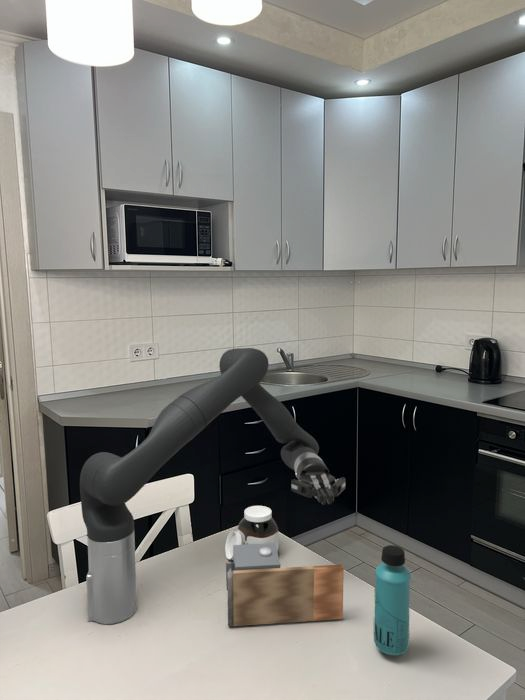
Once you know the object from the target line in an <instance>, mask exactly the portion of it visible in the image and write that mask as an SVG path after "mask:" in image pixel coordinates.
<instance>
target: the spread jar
mask: <svg viewBox="0 0 525 700" xmlns="http://www.w3.org/2000/svg"><path fill="white" fill-rule="evenodd" d="M243 511H244V512H243V513H244V515H243V516H244V517H243V518H242V519H241V520H240V521H239V523H238V527H237V530H230V532H229V533H228V535H227V538H226V540H225V546H224V554H225V557H226V559H227V560H230V561H233V545H245V544H264V543H275V546H276V549H277V552H278V550H279V544H280V543H279V541H280V539H279V538H280V535H279V527H278V525H277V523H276V521H275V520H274V518H273V517H272V515H273V513H272V509H271V508H270V507H267V506H265V505H264V506H263V505H251V506H248V507H247V508H245V509H244V510H243Z"/></svg>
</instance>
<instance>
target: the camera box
mask: <svg viewBox="0 0 525 700" xmlns="http://www.w3.org/2000/svg"><path fill="white" fill-rule="evenodd" d="M232 561H233V562H227V563H226V564H225V574H226V575H225V577H226V583H225V584H227V572H228V571H236V570H254V569H271V568H281V562H280V557H279V554H278V551H277V549H276V546H275V543H264V544H245V545H233V560H232ZM226 591H227V592H228V588H227V587H226Z"/></svg>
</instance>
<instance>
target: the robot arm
mask: <svg viewBox="0 0 525 700" xmlns="http://www.w3.org/2000/svg"><path fill="white" fill-rule="evenodd" d="M219 359H220V360H219V365H218V366H219V372H220V375H218V376H216V377H215V378H213V379H210V380H209V381H205V382H203V383H200V384H199V385H196V386H194V387H192V388H190V389H189V390H186V391H185V392H183V393H182V394H180V395H179V396H177V397H176V398H175V399H174V400H173V401H172V402H169V404H167V406H165V407H164V408H163V409H162V410H161V411H160V412H159V414H158V416H157V417H156V420H155V422H154V423H153V425H152V428H151V430H150V432H149V434H148V435H147V436H146V438H145V439H144V440H143V441H141V443H140V444H139V445H137V446H136V447H135V448H134V449H133V450H131V451H130V452H129V453H127V454H125V455H124V456H122V457H121V456H119V455H116V454H114V453H112V452H111V453H110V452H107V451H106V452H105V451H102V452H96V453H95V454H93V455H91V456H90V457H89V458H88V459H87V460H86V461H85V462H84V464H83V466H82V468H81V472H80V476H79V493H80V505H81V514H82V520H83V523H84V525H85V527H86V528H85V529H86V534H87V555H88V556H87V557H88V572H87V574H86V579H85V580H86V582H85V583H86V599H87V601H86V603H87V621H89V622H91V621H92V622H96V623H97V624H101V625H102V624H103V625H113V624H118V623H120V622H121V623H122V622H124V621H127V619H129V618H131V617H132V616H133V615H134V613H136V611H137V609H138V608H137V607H138V605H137V604H138V603H137V601H138V600H137V598H138V597H137V577H136V576H137V575H136V574H137V573H136V572H137V571H136V546H135V545H136V542H135V518H134V516H133V513H132V512H131V511H130V509H129V508H128V506H127V505H126V503H128V501H130V500H131V499H132V498H134V496H136V495H137V494H138V493H139V492H140V490H141V489H143V488H144V486H145V485H146V484H147V483H148V482H149V481H150V480H151V479H152V478H153V476H154V475H156V473H157V472H158V471H159V470H160V469H161V468H162V467H163V466H164V465H165V464H166V463H167V462H169V460H170V459H171V458H173V456H175V455H176V453H178V452H179V451H180V450H181V449H182V448H183V447H185V446H186V444H187V443H189V442H190V441H192V440H193V439H194V438H195V437H196V436H197V435H198V434H200V433H201V432H202V431H203V430H204V429H205V428H206V427H207V426H208V425H209V424H210V423H211V422H212V421H214V420H215V418H217V417H218V416H219V415H221V414H222V413H223V412H224V411H225V410H226V409H227V408H228V407H229V406H231V405H232V404H233V403H234V402H235V401H236V400H238V399H239V398H240V397H241V398H242V399H244V401H246V403H247V404H248V405H249V406H250V407H251V408H252V409H253V410H254V411H255V413H256V414H257V415H258V417H260V419H261V420H262V421H263V423H264V424H265V426H266V427H267V429H268V430H269V431H270V433H271V435H272V436H273V438H274V439H275V440H276V441H277V442H278V443H281V444H285V445H284V446H282V448H281V450H280V457H281V460H282V461H283V462H284V464H285V465H286V466H287V467H289V469H292V470H293V471H294V472H295V473H294V474H295V477H296V478H297V479H291V492H294V493H296V494H297V495H300V496H304V497H305V498H308V499H310V498H313V497H314V498H315V499H317V502H318V503H321V504H322V505H326V504H327V505H332V504H333V503H334V501H335V497H338V496H339V495H340V494H342V492H344V491H345V490H346V478H345V477H344V476H342V477H340V478H337V479H336V477H335V476H333V475H331V473H330V470H329V468H328V467H327V466H326V464H325V463H324V461H323V459H322V458H321V457H320V456H319V455H318V454H319V450H320V446H319V444H318V442H317V440H316V439H315V438H314V437H313V436H312V435H310V433H308V432H307V431H305V430H304V429H303V428H302V427H301V426H300V425H299V424H298V423H297V422H296V420H295V418H294V417H293V415H292V414H291V413H290V411H289V410H288V409H287V408H286V406H285V405H284V404H283V403H282V402H281V401H280V400H279V399H277V398H276V397H275V396H274V395H272V394H271V393H270V392H269V391H268V390H267V389H265V388H264V386H262V385H261V382H262V381H263V380H264V378H265V377H266V376H267V373H268V371H269V358H268V356H267V355H266V354H265V352H264V351H262V350H260V349H258V348H254V347H242V348H239V347H238V348H232V349H231V348H230V349H228V350H226V351H225V352H224V353H222V355H221V357H220V358H219Z"/></svg>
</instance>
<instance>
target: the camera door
mask: <svg viewBox="0 0 525 700" xmlns="http://www.w3.org/2000/svg"><path fill="white" fill-rule="evenodd" d="M344 568H345V567H344V564H342V563H341V564H324V565H309V566H307V565H306V566H291V567H288V566H287V567H280V568H271V569H254V570H236V571H228V572H227V583H226V589H227V588H228V591H227V626H228V627H231V628H232V627H236V626H237V627H240V626H254V625H255V626H256V625H269V624H283V623H285V624H286V623H297V622H310V621H311V622H312V621H314V622H316V621H327V620H329V621H330V620H342V619H343V618H344V571H345V570H344Z"/></svg>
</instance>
